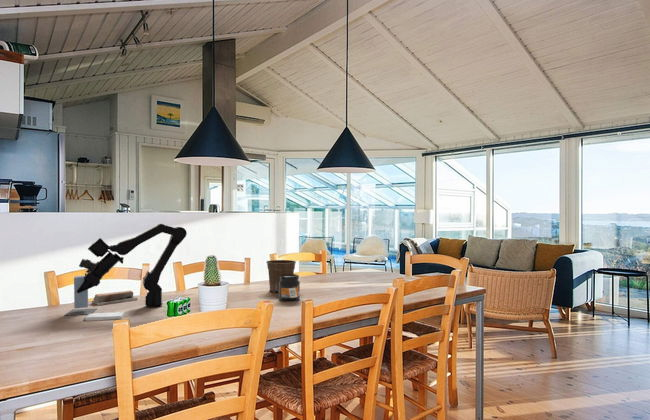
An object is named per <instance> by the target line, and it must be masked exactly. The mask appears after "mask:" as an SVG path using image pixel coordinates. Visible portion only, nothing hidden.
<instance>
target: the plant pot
mask: <svg viewBox="0 0 650 420" xmlns="http://www.w3.org/2000/svg"><path fill="white" fill-rule="evenodd" d="M296 263H297V261H296V260H292V259H291V260H289V259H273V260H266V266H267V267H266V268H267V270H268V281H269V291H270V292H273V293H279V281H280V275H283V274H295V273H294V272H295V267H296Z"/></svg>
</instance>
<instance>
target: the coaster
mask: <svg viewBox="0 0 650 420" xmlns="http://www.w3.org/2000/svg"><path fill="white" fill-rule="evenodd" d="M97 309H98V308H75V309H71V310H69V311H68V312H66V313H65V314H64V315H63V316H64V317H69V316H70V317H71V316H87V315H88V314H93V313H94V312H96V311H97Z"/></svg>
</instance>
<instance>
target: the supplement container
mask: <svg viewBox="0 0 650 420" xmlns="http://www.w3.org/2000/svg"><path fill="white" fill-rule="evenodd" d="M299 279H300V275H299V274H296V273H294V274H283V275H280V281H279V292H278V299H279V300H280V301H283V302H295V301H298V300H300V296H301V295H300V293H301V292H300V291H301V289H300V288H301V287H300V286H301V285H300V284H301V282H300V280H299Z"/></svg>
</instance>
